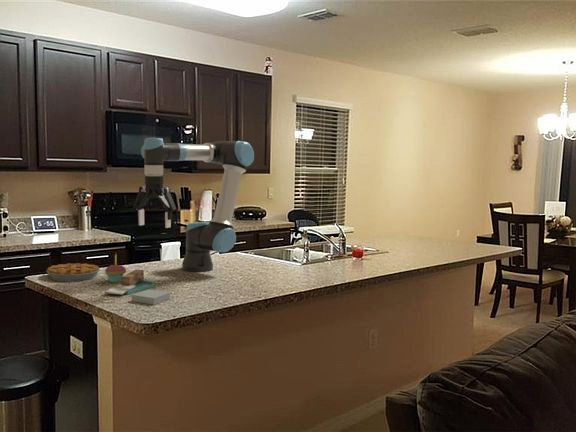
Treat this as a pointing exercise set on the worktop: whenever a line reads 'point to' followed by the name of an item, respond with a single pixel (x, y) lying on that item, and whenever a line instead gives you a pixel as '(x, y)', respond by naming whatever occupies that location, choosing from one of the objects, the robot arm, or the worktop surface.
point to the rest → (141, 286)
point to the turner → (127, 282)
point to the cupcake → (115, 272)
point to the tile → (150, 296)
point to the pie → (72, 272)
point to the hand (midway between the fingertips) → (154, 226)
